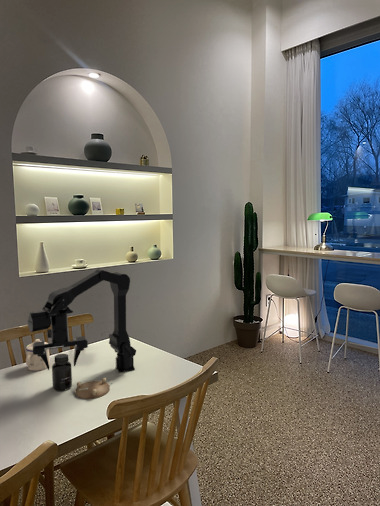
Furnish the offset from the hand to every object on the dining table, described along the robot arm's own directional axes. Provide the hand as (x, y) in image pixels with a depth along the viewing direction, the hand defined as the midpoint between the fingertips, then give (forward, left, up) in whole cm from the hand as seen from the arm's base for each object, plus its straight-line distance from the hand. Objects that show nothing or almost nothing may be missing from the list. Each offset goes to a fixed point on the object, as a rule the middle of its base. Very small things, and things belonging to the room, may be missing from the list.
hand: (61, 367), depth 144 cm
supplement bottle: (0, 0, -8) cm, 8 cm away
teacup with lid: (+9, -22, -8) cm, 25 cm away
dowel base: (-10, +7, -8) cm, 14 cm away
